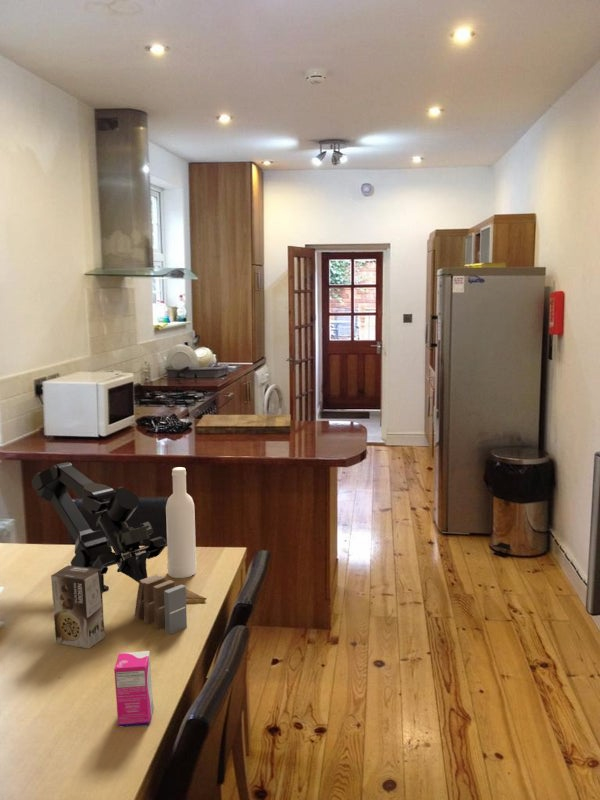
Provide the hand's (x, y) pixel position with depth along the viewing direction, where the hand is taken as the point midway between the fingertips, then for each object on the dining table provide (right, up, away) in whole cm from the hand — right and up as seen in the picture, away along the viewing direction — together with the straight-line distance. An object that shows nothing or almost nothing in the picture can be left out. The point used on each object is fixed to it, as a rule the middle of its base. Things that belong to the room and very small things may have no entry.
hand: (146, 585), depth 170 cm
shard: (+7, -7, +12) cm, 16 cm away
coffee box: (-13, -10, -11) cm, 19 cm away
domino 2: (+2, -8, -1) cm, 8 cm away
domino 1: (-1, -7, +2) cm, 8 cm away
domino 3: (+5, -8, -3) cm, 10 cm away
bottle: (+4, -4, +28) cm, 29 cm away
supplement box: (+7, -14, -41) cm, 43 cm away
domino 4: (+8, -9, -6) cm, 13 cm away
